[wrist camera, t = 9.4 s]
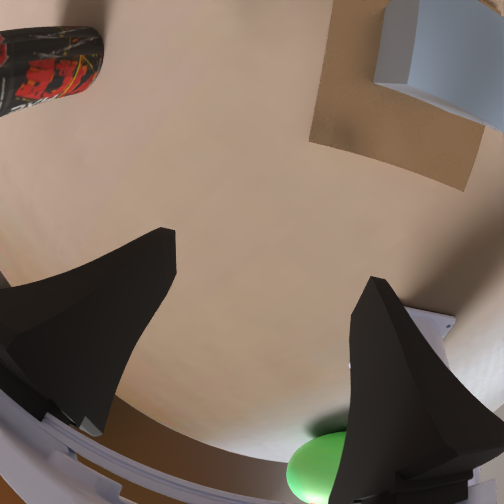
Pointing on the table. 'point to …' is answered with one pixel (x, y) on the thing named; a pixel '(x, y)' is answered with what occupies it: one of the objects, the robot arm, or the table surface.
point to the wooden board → (385, 105)
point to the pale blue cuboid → (445, 56)
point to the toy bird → (316, 468)
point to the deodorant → (46, 64)
